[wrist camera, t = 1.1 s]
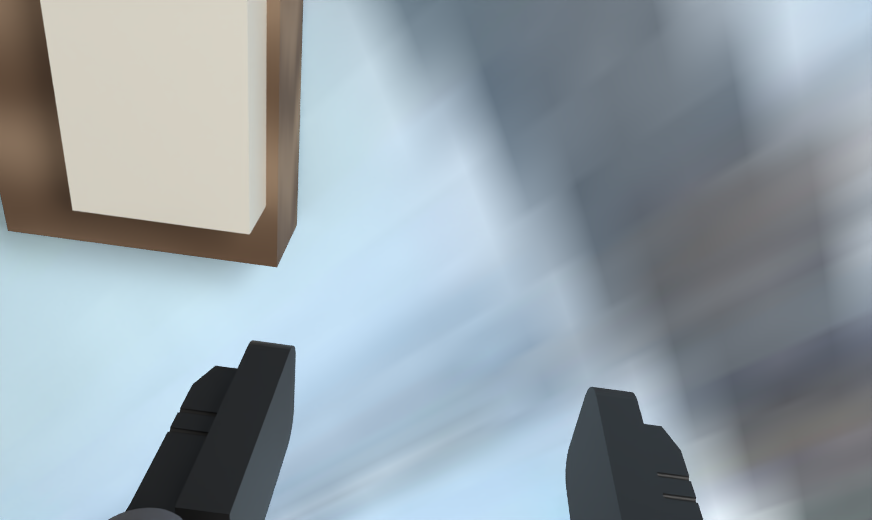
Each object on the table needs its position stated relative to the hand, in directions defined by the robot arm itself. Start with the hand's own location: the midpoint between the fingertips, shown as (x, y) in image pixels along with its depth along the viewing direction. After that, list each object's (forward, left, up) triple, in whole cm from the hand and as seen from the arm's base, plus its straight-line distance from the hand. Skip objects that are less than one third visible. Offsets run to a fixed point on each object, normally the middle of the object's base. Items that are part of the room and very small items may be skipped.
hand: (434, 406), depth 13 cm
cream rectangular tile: (+1, -11, -17) cm, 21 cm away
